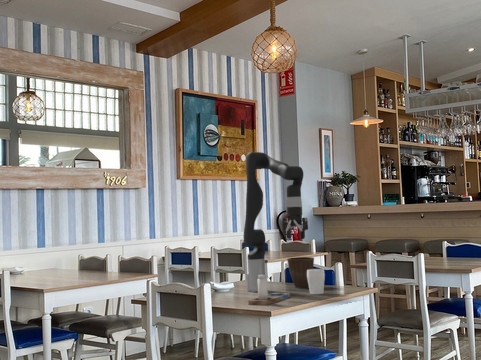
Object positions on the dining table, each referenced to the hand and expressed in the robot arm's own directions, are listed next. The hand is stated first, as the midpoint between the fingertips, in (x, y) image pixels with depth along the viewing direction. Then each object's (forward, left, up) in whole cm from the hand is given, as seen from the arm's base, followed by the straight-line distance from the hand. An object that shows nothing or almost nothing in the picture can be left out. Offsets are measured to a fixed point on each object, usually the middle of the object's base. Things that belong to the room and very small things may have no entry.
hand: (295, 238), depth 293 cm
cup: (+5, +12, -29) cm, 31 cm away
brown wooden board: (-6, -19, -28) cm, 35 cm away
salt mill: (-6, -26, -28) cm, 38 cm away
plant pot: (-13, +35, -29) cm, 47 cm away
